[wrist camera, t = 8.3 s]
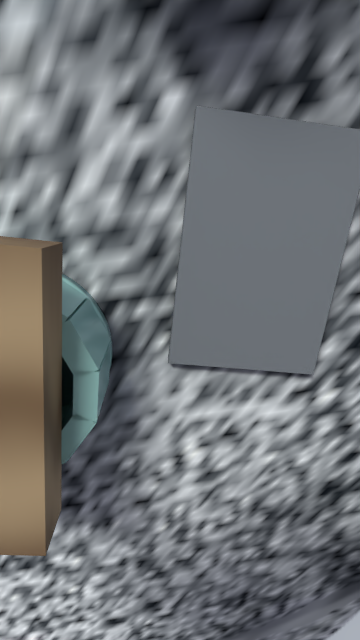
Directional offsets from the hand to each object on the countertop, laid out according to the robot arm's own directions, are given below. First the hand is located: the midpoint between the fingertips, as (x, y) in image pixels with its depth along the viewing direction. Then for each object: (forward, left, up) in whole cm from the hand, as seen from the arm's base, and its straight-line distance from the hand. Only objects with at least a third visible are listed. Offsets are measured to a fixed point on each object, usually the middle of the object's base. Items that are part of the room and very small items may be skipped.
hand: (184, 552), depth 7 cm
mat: (+6, -4, -12) cm, 13 cm away
